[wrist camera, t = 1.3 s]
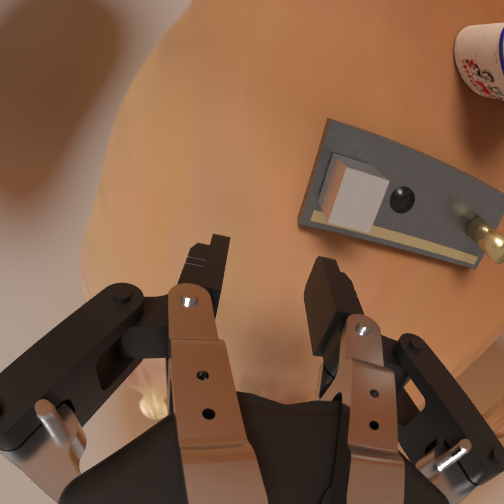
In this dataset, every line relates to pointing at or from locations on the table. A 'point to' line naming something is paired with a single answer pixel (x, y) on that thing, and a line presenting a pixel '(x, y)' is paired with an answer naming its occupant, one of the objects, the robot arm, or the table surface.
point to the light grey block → (352, 193)
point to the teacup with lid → (482, 59)
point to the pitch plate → (413, 200)
